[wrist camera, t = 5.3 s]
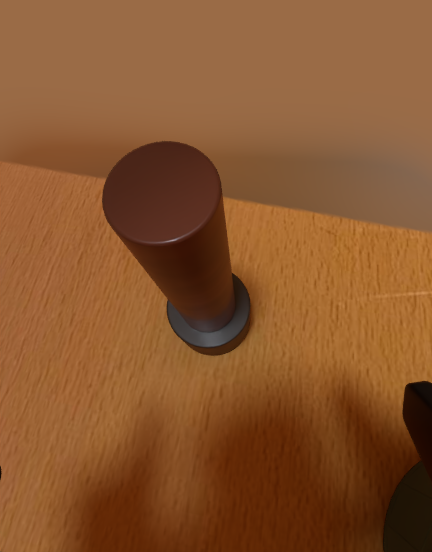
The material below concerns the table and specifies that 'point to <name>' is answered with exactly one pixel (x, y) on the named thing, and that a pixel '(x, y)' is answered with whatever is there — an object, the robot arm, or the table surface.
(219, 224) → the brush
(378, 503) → the table surface
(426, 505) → the teal round holder
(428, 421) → the robot arm
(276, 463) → the table surface
